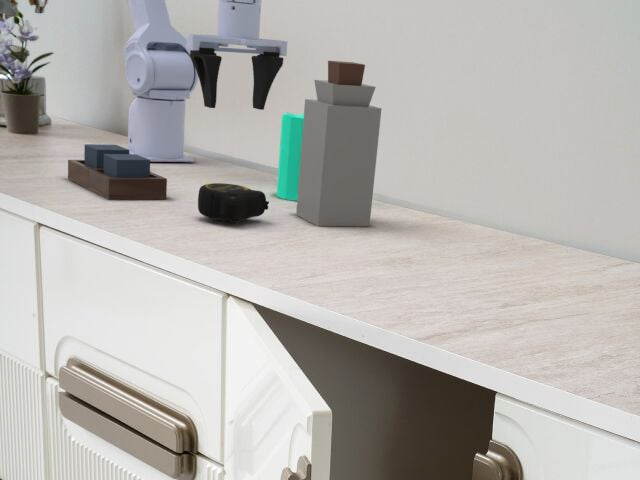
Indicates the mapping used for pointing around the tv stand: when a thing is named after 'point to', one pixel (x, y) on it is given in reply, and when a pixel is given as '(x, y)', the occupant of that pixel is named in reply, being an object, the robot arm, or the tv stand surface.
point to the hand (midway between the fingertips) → (234, 108)
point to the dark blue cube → (126, 166)
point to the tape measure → (230, 202)
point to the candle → (290, 156)
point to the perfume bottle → (339, 149)
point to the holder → (117, 183)
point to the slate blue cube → (100, 154)
